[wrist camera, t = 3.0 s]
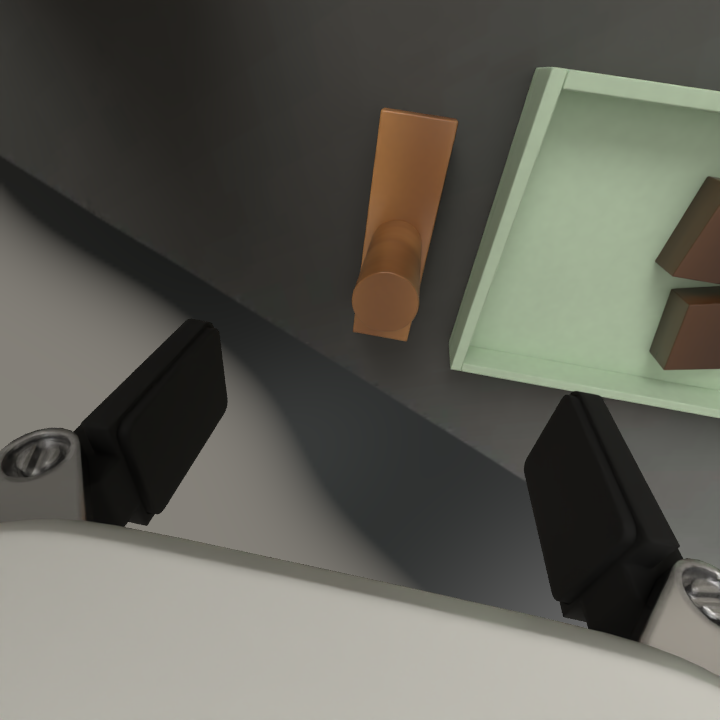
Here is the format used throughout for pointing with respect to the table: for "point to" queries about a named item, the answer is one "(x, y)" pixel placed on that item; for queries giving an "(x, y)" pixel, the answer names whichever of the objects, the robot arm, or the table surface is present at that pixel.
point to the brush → (400, 219)
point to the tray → (590, 240)
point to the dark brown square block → (696, 238)
